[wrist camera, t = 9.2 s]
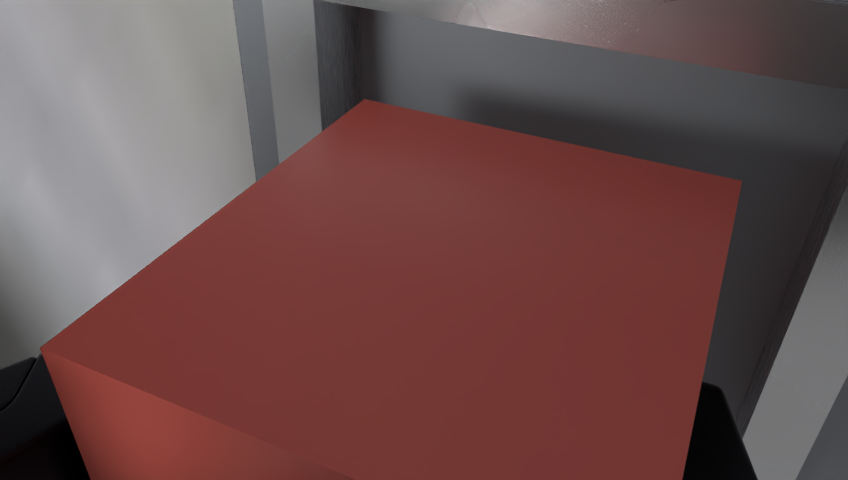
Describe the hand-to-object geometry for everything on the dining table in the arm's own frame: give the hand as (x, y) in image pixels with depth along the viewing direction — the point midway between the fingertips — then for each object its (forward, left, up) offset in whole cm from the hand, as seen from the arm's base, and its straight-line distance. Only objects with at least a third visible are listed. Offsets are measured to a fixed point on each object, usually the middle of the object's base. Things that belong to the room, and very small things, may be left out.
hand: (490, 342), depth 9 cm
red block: (0, 0, -1) cm, 1 cm away
